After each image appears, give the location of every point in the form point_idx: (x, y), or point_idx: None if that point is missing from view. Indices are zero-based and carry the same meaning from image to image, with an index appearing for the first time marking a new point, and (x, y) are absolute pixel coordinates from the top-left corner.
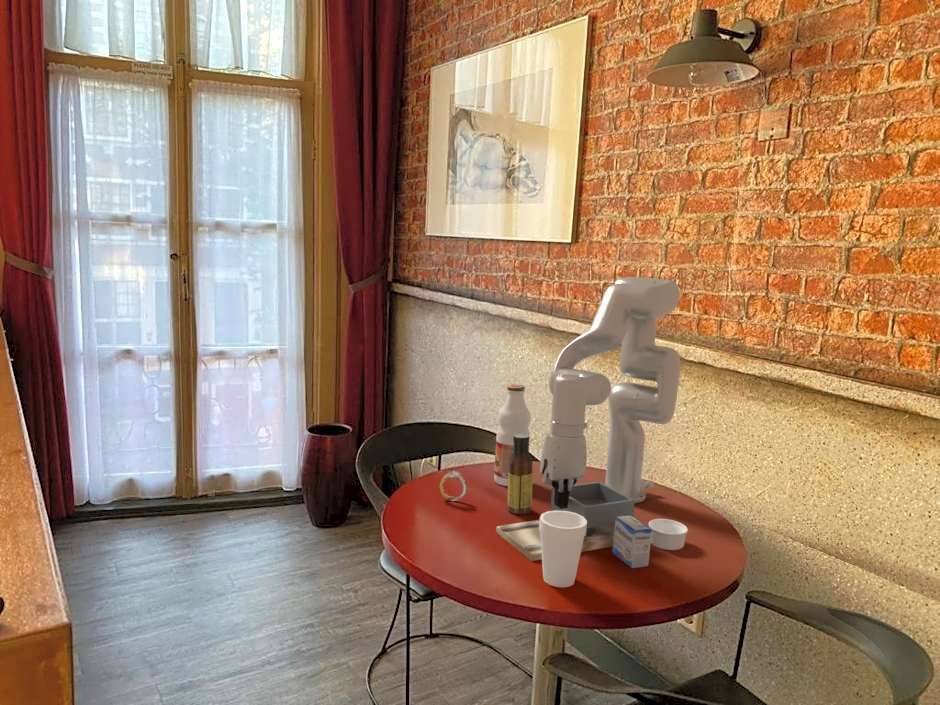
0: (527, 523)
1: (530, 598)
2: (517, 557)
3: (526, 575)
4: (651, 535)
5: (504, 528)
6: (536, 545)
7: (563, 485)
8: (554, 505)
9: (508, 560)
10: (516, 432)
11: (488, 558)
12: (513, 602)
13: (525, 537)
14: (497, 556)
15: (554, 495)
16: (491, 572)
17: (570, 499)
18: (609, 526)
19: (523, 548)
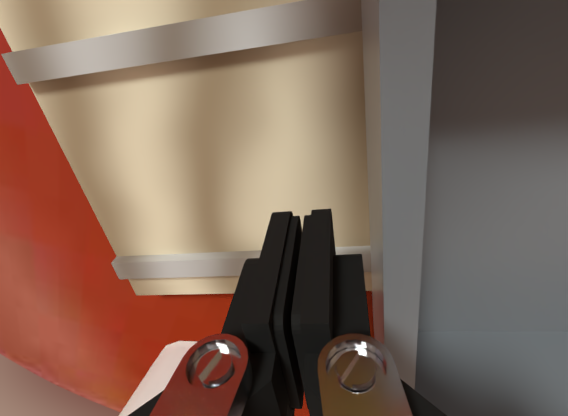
0: (165, 36)
1: (114, 394)
2: (104, 246)
3: (118, 331)
4: None
5: (25, 79)
6: (157, 269)
7: (322, 411)
8: (364, 32)
9: (73, 255)
10: None
11: (7, 228)
12: (77, 393)
13: (135, 171)
14: (36, 224)
15: (233, 298)
16: (24, 297)
17: (382, 322)
18: None
19: (115, 247)
